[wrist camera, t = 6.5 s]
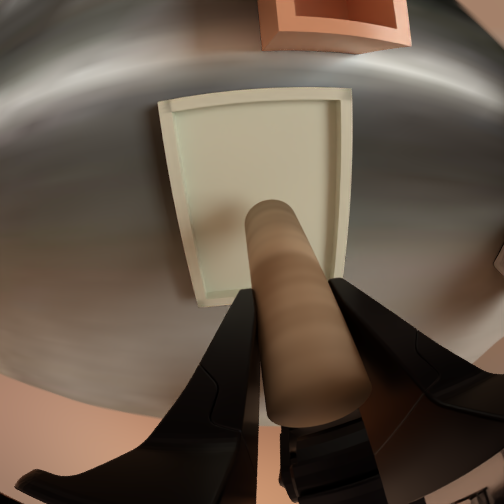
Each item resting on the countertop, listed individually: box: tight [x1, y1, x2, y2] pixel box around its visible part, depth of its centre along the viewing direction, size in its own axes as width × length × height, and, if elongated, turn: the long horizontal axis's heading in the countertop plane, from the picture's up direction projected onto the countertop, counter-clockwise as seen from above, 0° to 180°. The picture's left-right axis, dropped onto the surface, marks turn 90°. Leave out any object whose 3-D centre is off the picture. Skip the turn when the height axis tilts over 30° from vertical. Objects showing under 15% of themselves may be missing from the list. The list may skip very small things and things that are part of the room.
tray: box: [158, 87, 352, 308], centre depth 15 cm, size 12×9×1 cm
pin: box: [244, 199, 372, 428], centre depth 9 cm, size 2×2×9 cm
